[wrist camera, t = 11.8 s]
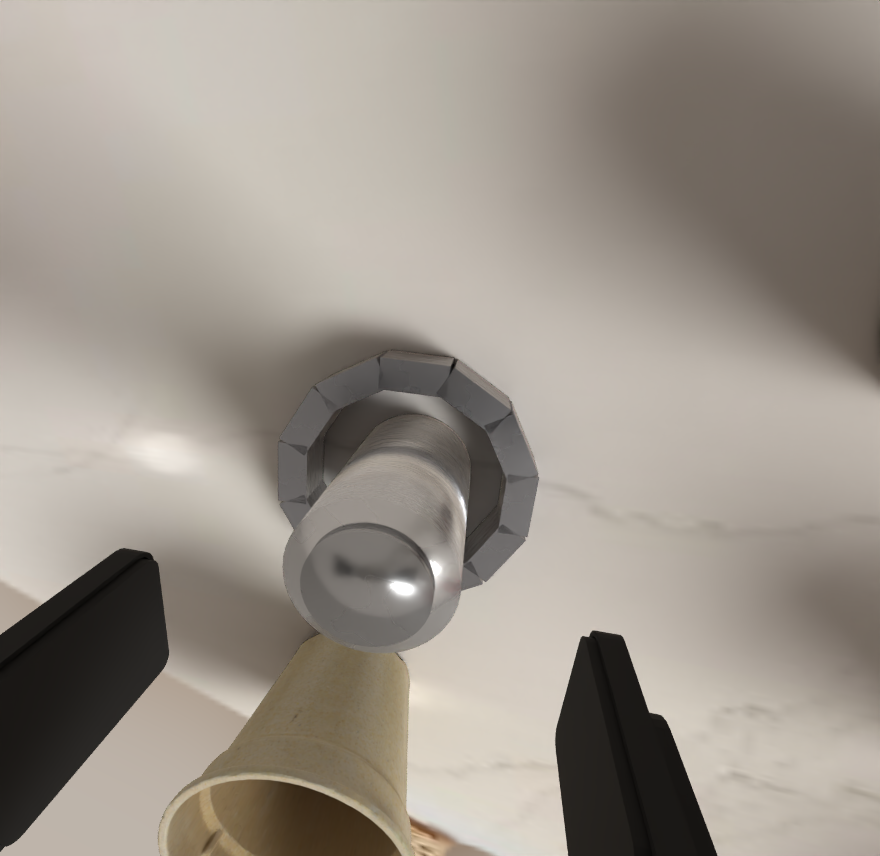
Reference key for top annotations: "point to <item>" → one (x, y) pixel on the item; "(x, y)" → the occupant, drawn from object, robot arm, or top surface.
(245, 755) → the flower pot
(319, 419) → the collar
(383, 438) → the piston
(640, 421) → the top surface
